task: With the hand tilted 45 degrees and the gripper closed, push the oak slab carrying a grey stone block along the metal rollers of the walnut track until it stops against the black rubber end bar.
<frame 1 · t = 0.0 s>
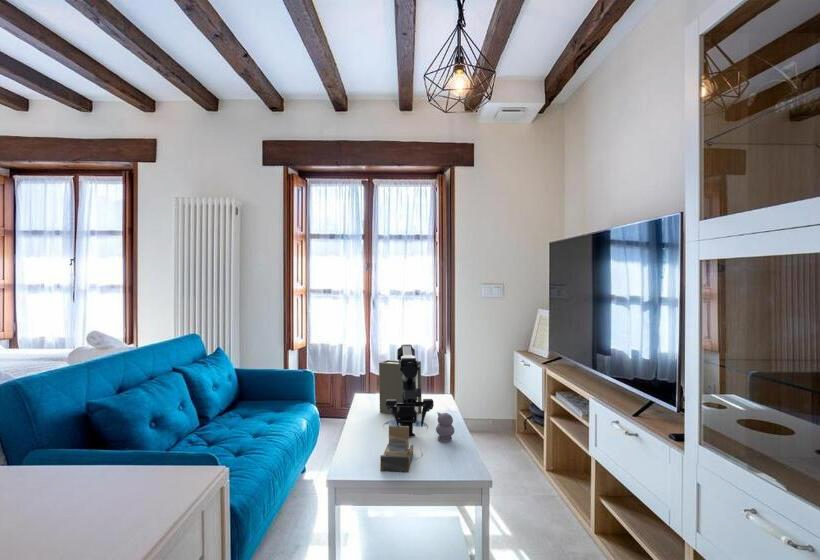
hand: (410, 426, 159), 15 cm above the table, fingers open, 9 cm apart
slab: (398, 441, 163), point 8 cm above the table, slide at 0.0 cm
book: (399, 412, 223), on the table
roller track: (397, 462, 161), on the table
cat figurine: (445, 440, 184), on the table
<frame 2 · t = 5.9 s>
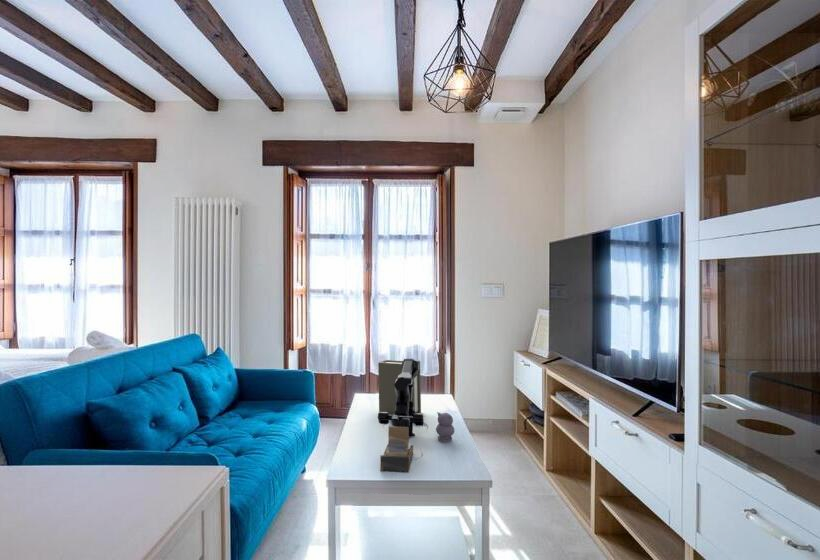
hand: (398, 438, 165), 8 cm above the table, fingers closed, pressing on slab
slab: (397, 442, 162), point 8 cm above the table, slide at 0.9 cm, touching gripper
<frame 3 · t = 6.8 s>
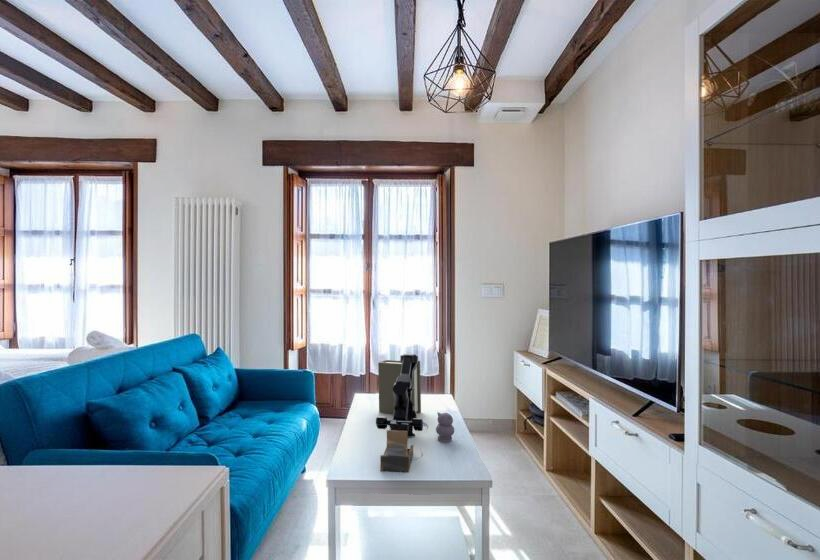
hand: (397, 444, 161), 7 cm above the table, fingers closed
slab: (396, 446, 158), point 8 cm above the table, slide at 5.1 cm, touching gripper
everything else where it was.
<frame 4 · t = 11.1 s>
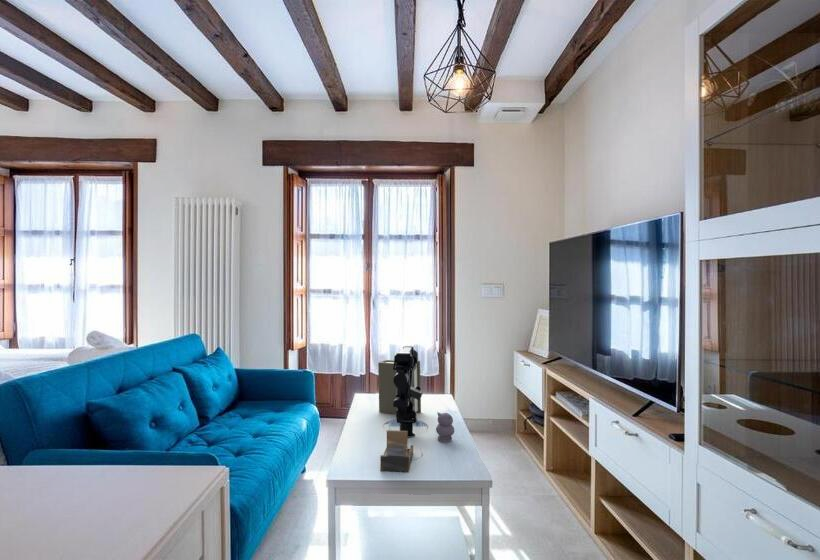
hand: (403, 417, 178), 12 cm above the table, fingers closed
slab: (396, 446, 158), point 8 cm above the table, slide at 5.2 cm
everything else where it was.
at the end: slab slide at 5.2 cm; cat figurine moved 0.2 cm from its start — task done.
